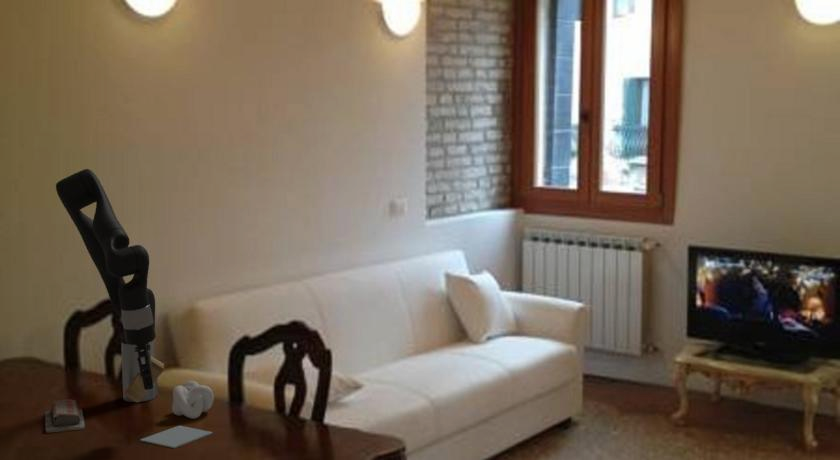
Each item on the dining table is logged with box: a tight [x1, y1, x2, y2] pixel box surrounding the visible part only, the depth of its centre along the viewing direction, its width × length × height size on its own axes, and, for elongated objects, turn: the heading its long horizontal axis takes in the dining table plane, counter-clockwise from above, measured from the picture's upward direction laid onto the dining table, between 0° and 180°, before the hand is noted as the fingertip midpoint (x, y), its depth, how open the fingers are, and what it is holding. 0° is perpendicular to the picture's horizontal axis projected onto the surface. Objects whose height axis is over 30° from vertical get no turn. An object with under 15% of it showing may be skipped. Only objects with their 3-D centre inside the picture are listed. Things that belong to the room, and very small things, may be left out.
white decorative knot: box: [171, 380, 215, 420], centre depth 284 cm, size 11×12×9 cm
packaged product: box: [44, 398, 86, 434], centre depth 278 cm, size 18×5×10 cm
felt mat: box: [139, 425, 214, 449], centre depth 263 cm, size 14×12×1 cm
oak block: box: [125, 356, 165, 404], centre depth 262 cm, size 4×4×11 cm
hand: (149, 385), depth 262 cm, fingers closed on oak block, 4 cm apart
